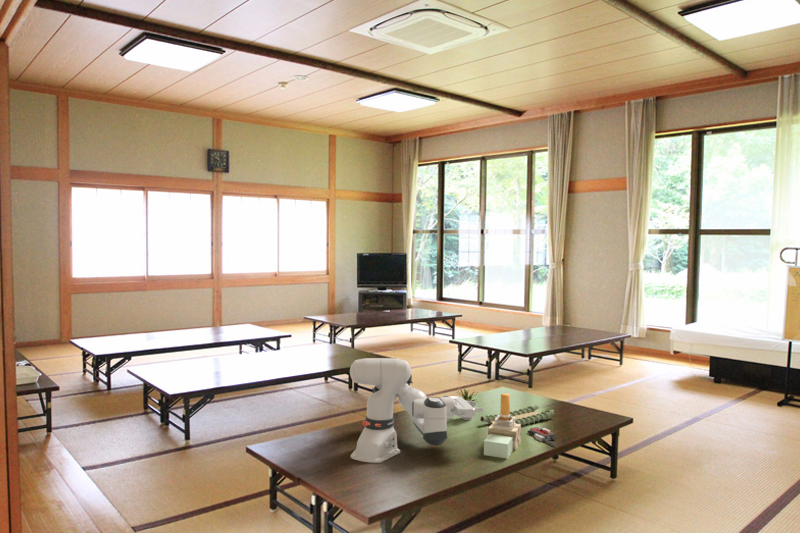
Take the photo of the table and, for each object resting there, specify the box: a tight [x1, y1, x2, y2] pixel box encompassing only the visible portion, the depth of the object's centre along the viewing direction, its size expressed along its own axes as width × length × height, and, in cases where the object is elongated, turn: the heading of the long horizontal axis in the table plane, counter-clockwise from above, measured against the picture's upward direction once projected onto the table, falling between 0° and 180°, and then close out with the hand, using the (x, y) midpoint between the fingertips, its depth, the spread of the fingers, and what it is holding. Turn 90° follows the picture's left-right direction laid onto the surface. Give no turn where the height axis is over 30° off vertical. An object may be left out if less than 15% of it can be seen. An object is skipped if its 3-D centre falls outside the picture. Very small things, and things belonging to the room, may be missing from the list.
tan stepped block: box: [487, 414, 522, 451], centre depth 248 cm, size 12×12×12 cm
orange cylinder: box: [499, 393, 511, 421], centre depth 248 cm, size 4×4×13 cm
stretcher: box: [480, 404, 555, 427], centre depth 282 cm, size 41×14×5 cm, turn 126°
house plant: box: [453, 387, 479, 421], centre depth 286 cm, size 14×14×16 cm
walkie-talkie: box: [527, 426, 557, 446], centre depth 256 cm, size 9×4×20 cm
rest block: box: [483, 434, 514, 460], centre depth 237 cm, size 10×10×6 cm
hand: (478, 406), depth 246 cm, fingers open, 8 cm apart
